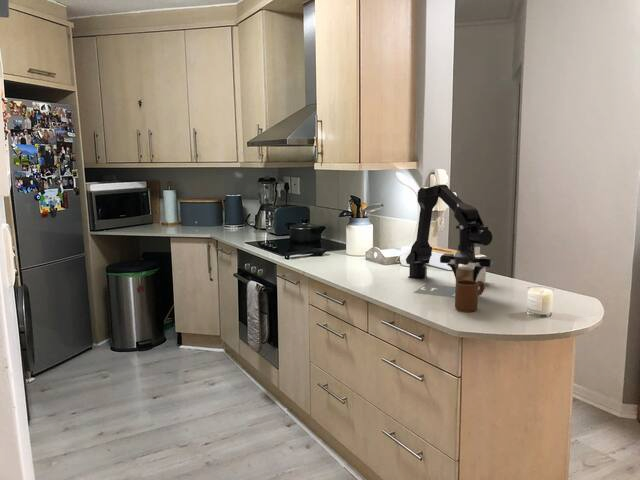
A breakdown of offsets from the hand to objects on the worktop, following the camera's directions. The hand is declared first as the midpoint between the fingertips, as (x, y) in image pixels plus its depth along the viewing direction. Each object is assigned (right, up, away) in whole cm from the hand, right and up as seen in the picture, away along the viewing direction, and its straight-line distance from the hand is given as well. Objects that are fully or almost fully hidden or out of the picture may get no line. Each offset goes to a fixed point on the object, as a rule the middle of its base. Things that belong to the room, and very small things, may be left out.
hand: (465, 282), depth 199 cm
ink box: (+8, -2, +17) cm, 19 cm away
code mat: (-6, -4, +4) cm, 8 cm away
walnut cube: (0, -1, 0) cm, 1 cm away
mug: (-3, -8, -18) cm, 20 cm away
